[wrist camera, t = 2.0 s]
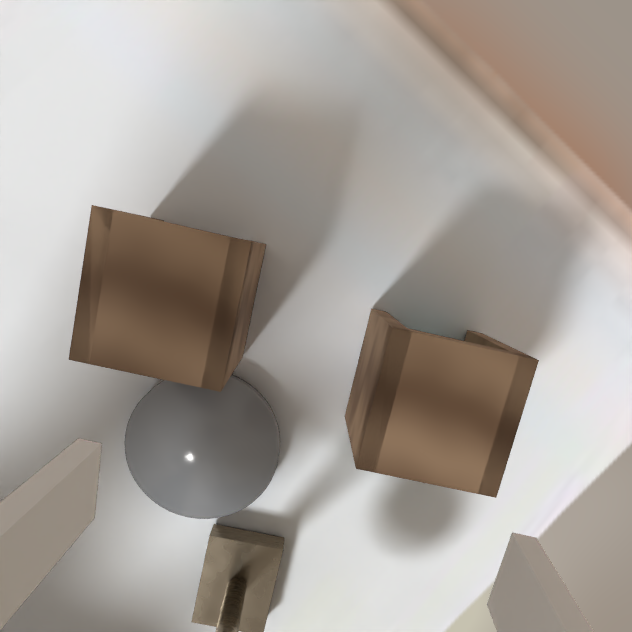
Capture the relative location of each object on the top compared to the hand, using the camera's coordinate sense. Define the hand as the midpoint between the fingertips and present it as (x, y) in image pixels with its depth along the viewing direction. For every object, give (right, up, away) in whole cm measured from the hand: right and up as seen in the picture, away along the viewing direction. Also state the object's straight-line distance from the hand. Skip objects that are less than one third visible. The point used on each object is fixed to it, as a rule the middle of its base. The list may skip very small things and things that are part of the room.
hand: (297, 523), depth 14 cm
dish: (-8, -4, +21) cm, 23 cm away
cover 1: (-9, +9, +20) cm, 23 cm away
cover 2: (+8, +2, +21) cm, 23 cm away
